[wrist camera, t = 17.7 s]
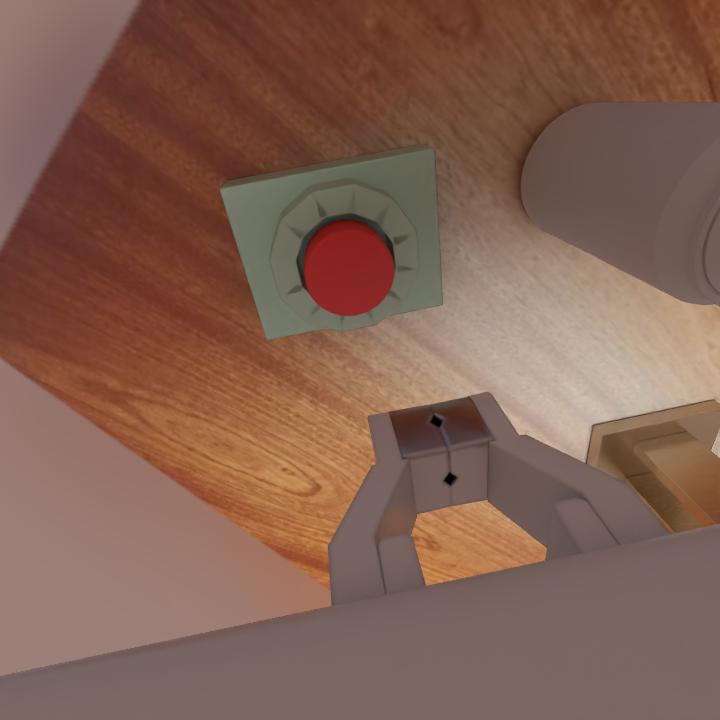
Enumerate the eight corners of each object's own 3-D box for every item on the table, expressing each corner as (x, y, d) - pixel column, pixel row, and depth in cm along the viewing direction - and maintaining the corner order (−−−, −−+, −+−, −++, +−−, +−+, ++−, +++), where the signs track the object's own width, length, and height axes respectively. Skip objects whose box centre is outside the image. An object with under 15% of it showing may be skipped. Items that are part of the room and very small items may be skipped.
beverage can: (520, 246, 25) (677, 346, 15) (507, 127, 22) (698, 151, 11) (627, 208, 25) (862, 285, 14) (631, 81, 21) (941, 65, 11)
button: (382, 211, 19) (389, 220, 18) (392, 292, 21) (399, 307, 20) (294, 228, 19) (294, 239, 18) (313, 308, 21) (315, 324, 20)
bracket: (714, 399, 34) (913, 540, 23) (688, 470, 38) (846, 617, 27) (593, 425, 33) (736, 581, 23) (580, 493, 38) (696, 652, 27)
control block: (422, 143, 21) (447, 151, 18) (432, 290, 26) (454, 319, 22) (225, 180, 21) (212, 196, 18) (268, 323, 25) (264, 357, 22)
